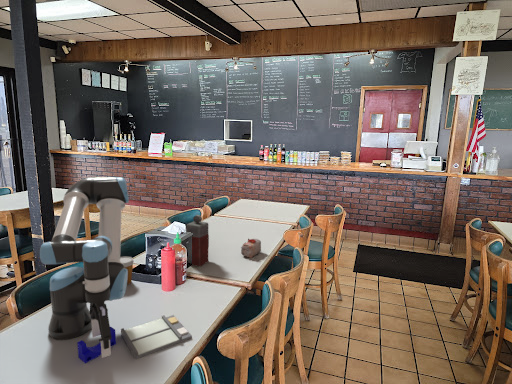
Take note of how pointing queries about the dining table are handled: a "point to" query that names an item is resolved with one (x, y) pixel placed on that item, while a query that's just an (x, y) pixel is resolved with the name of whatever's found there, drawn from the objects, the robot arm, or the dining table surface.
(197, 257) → the dark red bottle
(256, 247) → the food item
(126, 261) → the disposable coffee cup
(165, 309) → the dining table surface
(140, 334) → the board
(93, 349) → the cable clip
